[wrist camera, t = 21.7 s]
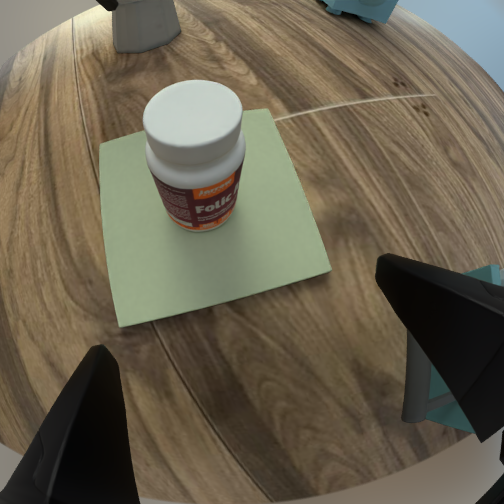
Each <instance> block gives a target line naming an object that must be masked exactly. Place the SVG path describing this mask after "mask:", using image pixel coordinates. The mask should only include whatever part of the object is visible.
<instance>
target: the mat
mask: <svg viewBox="0 0 504 504" xmlns="http://www.w3.org/2000/svg"><path fill="white" fill-rule="evenodd" d="M241 130H242V132H243V134H244V137H245V143H246V151H245V157H244V162H243V166H242V171H241V178H240V183H239V188H238V194H237V200H236V205H235V208H234V210H233V213H232V214H231V216H230V217H229V218H228V219H227V221H225V222H224V223H223V224H222V225H220V226H219V227H217V228H215V229H212V230H209V231H203V232H193V231H189V230H186V229H183V228H181V227H180V226H178V225H177V224H175V223H174V222H173V221H172V220H171V218H170V217H169V215H168V214H167V212H166V209H165V207H164V205H163V202H162V200H161V197H160V195H159V192H158V190H157V187H156V185H155V182H154V179H153V177H152V174H151V172H150V169H149V168H148V165H147V161H146V155H145V147H146V141H147V137H146V133H145V131H141V132H137V133H134V134H130V135H127V136H124V137H120V138H117V139H114V140H111V141H108V142H105V143H102V144H100V156H99V168H100V200H101V215H102V227H103V237H104V245H105V253H106V261H107V267H108V274H109V280H110V286H111V291H112V296H113V302H114V306H115V311H116V316H117V320H118V324H119V327H120V328H123V327H128V326H132V325H137V324H141V323H145V322H150V321H154V320H158V319H163V318H167V317H171V316H175V315H179V314H183V313H187V312H191V311H195V310H199V309H203V308H207V307H211V306H214V305H218V304H222V303H226V302H229V301H233V300H237V299H240V298H244V297H248V296H251V295H255V294H258V293H262V292H265V291H269V290H272V289H276V288H279V287H282V286H286V285H289V284H292V283H296V282H299V281H302V280H306V279H309V278H312V277H315V276H319V275H322V274H325V273H328V272H330V271H332V269H331V266H330V263H329V260H328V257H327V254H326V251H325V248H324V245H323V242H322V239H321V236H320V234H319V231H318V228H317V225H316V223H315V220H314V217H313V214H312V212H311V209H310V206H309V204H308V201H307V199H306V196H305V194H304V191H303V188H302V186H301V183H300V181H299V178H298V176H297V174H296V171H295V169H294V166H293V164H292V161H291V159H290V157H289V154H288V152H287V150H286V147H285V145H284V143H283V141H282V138H281V136H280V134H279V132H278V129H277V127H276V125H275V123H274V120H273V118H272V116H271V114H270V112H269V110H268V108H266V109H256V110H248V111H243V114H242V122H241Z"/></svg>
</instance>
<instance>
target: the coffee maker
mask: <svg viewBox="0 0 504 504" xmlns="http://www.w3.org/2000/svg"><path fill="white" fill-rule="evenodd" d="M96 1H97V2H98V3H99V4H100V5H102V6H103V7H104V8H105V9H106V10H107V11H112V31H113V45H114V47H115V49H116V51H117V53H142V52H145V51H148V50H151V49H154V48H157V47H160V46H163V45H166V44H169V43H170V42H171V41H172V40H173V39H174V38H175V37H176V36H177V35H178V34H179V33H180V32H181V29H180V25H179V21H178V17H177V13H176V9H175V5H174V1H173V0H96Z"/></svg>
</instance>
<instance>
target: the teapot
mask: <svg viewBox="0 0 504 504" xmlns="http://www.w3.org/2000/svg"><path fill="white" fill-rule="evenodd" d="M321 1H324V2H325V3H326V4H328V6H327V8H326V10H327V11H329V12H331V13H333V14H337V15H341V12H342V11H344V12H348V13H352V14H356V15H358V17H359V18H360V19H361V20H363V21H365V22H368V23H372V22H371V19H373V20H376V21H379V22H382V23H385V24H386V22H387V20H388V18H389V17H390V15H391V13H392V11H393V9H394V7H395V5H396V3H397V2H398V0H321Z"/></svg>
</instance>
